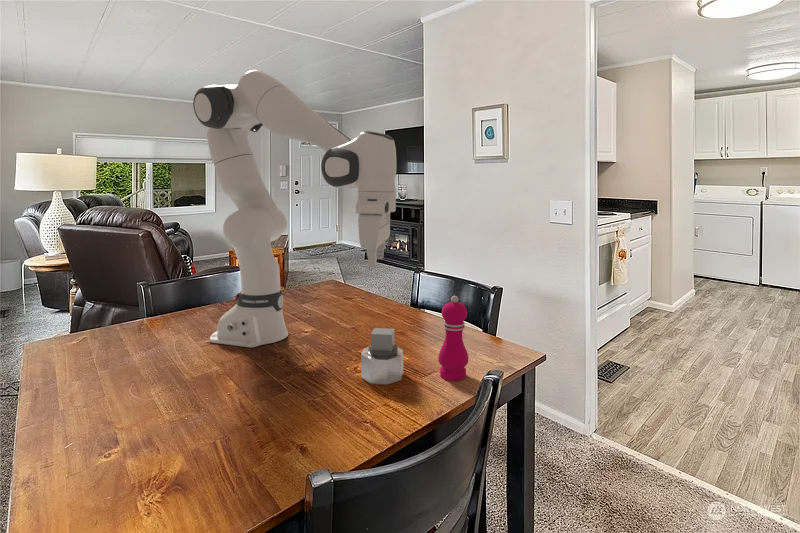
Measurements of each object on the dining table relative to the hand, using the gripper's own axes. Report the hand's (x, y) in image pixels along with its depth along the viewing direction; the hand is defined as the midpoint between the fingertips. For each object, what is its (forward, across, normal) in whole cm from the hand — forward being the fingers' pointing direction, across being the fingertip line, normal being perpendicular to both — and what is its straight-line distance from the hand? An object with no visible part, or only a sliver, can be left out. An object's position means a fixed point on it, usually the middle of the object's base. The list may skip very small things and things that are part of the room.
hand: (376, 262), depth 110 cm
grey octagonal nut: (+27, +3, +2) cm, 28 cm away
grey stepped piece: (+24, +3, +2) cm, 25 cm away
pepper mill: (+27, +1, +19) cm, 33 cm away
